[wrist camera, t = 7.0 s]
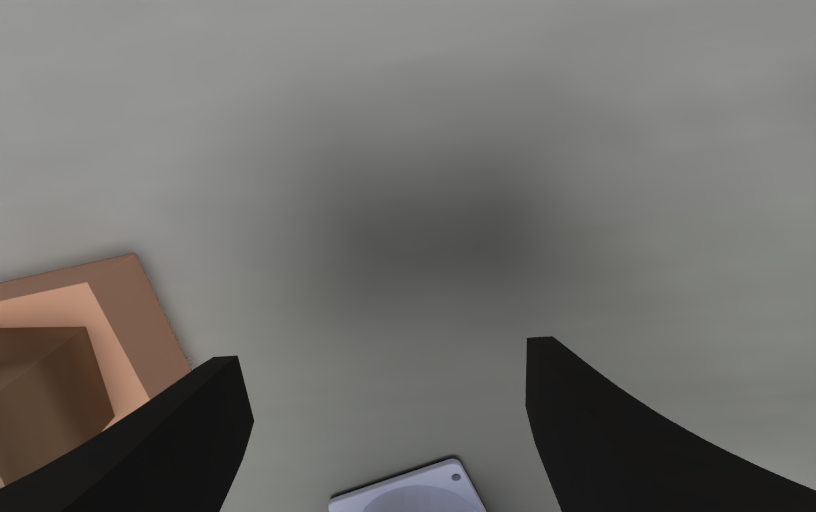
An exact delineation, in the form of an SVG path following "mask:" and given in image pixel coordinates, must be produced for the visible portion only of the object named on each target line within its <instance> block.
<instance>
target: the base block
mask: <svg viewBox="0 0 816 512" xmlns="http://www.w3.org/2000/svg"><path fill="white" fill-rule="evenodd" d="M25 327H86V328H87V331H88V334H89V338H90V341H91V344H92V347H93V350H94V353H95V356H96V359H97V362H98V365H99V368H100V372H101V375H102V378H103V381H104V384H105V387H106V390H107V393H108V396H109V399H110V402H111V405H112V409H113V412H114V415H115V417H114V418H113V420H112V421H111V422H110V423H109V424H108V425H107V426H106V427H105V429H107V428H109V427H110V426H112V425H113V424H115V423H116V422H118V421H119V420H121V419H122V418H124V417H125V416H127V415H128V414H130V413H132V412H133V411H135V410H136V409H138V408H139V407H141V406H142V405H144V404H145V403H146V402H148V401H149V400H151V399H152V398H154V397H155V396H156V395H158V394H159V393H161V392H162V391H164V390H165V389H166V388H168V387H169V386H171V385H172V384H174V383H175V382H176V381H178V380H179V379H181V378H182V377H184V376H185V375H187V374H188V373H189V372H191V371H192V370H191V368H190V366H189V364H188V362H187V360H186V358H185V356H184V354H183V352H182V350H181V348H180V346H179V343H178V341H177V339H176V337H175V335H174V333H173V331H172V329H171V327H170V325H169V323H168V321H167V319H166V316H165V314H164V312H163V310H162V308H161V306H160V304H159V302H158V300H157V298H156V296H155V294H154V292H153V289H152V287H151V285H150V283H149V281H148V279H147V277H146V275H145V273H144V271H143V269H142V267H141V265H140V262H139V260H138V258H137V256H136V254H135V253H133V254H128V255H124V256H119V257H115V258H110V259H106V260H101V261H97V262H93V263H88V264H84V265H79V266H75V267H70V268H66V269H61V270H57V271H52V272H48V273H43V274H39V275H34V276H30V277H25V278H21V279H16V280H12V281H7V282H3V283H0V328H25ZM105 429H104V430H105ZM104 430H103V431H104Z"/></svg>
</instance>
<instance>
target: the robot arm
mask: <svg viewBox="0 0 816 512" xmlns="http://www.w3.org/2000/svg"><path fill="white" fill-rule="evenodd" d="M525 406H526V410H527V414H528V418H529V422H530V426H531V430H532V433H533V437H534V441H535V444H536V447H537V450H538V452H539V455H540V457H541V460H542V462H543V465H544V468H545V470H546V473H547V475H548V478H549V480H550V483H551V485H552V488H553V490H554V493H555V495H556V498H557V500H558V503H559V505H560V508H561V510H562V512H816V490H813V489H811V488H808V487H806V486H803V485H801V484H798V483H796V482H793V481H791V480H789V479H786V478H784V477H782V476H780V475H777V474H775V473H773V472H770V471H768V470H766V469H764V468H761V467H759V466H757V465H755V464H753V463H751V462H749V461H747V460H745V459H743V458H740V457H738V456H736V455H734V454H732V453H730V452H728V451H726V450H724V449H722V448H720V447H718V446H716V445H714V444H712V443H710V442H708V441H706V440H704V439H702V438H700V437H699V436H697V435H695V434H693V433H692V432H690V431H688V430H686V429H685V428H683V427H681V426H679V425H677V424H676V423H674V422H672V421H670V420H669V419H667V418H665V417H664V416H662V415H660V414H659V413H657V412H655V411H654V410H652V409H651V408H649V407H648V406H646V405H645V404H643V403H642V402H640V401H639V400H637V399H636V398H634V397H633V396H631V395H629V394H628V393H627V392H625V391H624V390H622V389H621V388H619V387H618V386H617V385H615V384H614V383H612V382H611V381H610V380H608V379H607V378H606V377H604V376H603V375H602V374H600V373H599V372H598V371H596V370H595V369H594V368H592V367H591V366H590V365H588V364H587V363H586V362H585V361H583V360H582V359H581V358H579V357H578V356H577V355H576V354H574V353H573V352H572V351H571V350H569V349H568V348H567V347H566V346H564V345H563V344H562V343H561V342H559V341H558V340H557V339H555V338H554V337H552V336H550V337H534V338H527V363H526V405H525ZM253 423H254V419H253V415H252V411H251V407H250V403H249V399H248V395H247V391H246V387H245V383H244V379H243V375H242V371H241V367H240V363H239V359H238V356H223V357H213V358H211V359H210V360H208V361H206V362H205V363H203V364H201V365H200V366H198V367H197V368H195V369H194V370H192V371H191V372H189V373H188V374H187V375H185V376H184V377H182V378H181V379H179V380H178V381H176V382H175V383H174V384H172V385H171V386H169V387H168V388H166V389H165V390H164V391H162V392H161V393H159V394H158V395H156V396H155V397H154V398H152V399H151V400H149V401H148V402H146V403H145V404H144V405H142V406H141V407H139V408H138V409H136V410H135V411H133V412H132V413H130V414H128V415H127V416H125V417H124V418H122V419H121V420H119V421H118V422H116V423H115V424H113V425H112V426H110V427H109V428H107V429H105V430H104V431H102V432H101V433H99V434H98V435H96V436H95V437H93V438H91V439H90V440H88V441H87V442H85V443H83V444H82V445H80V446H78V447H76V448H75V449H73V450H71V451H70V452H68V453H66V454H64V455H63V456H61V457H59V458H57V459H56V460H54V461H52V462H50V463H48V464H47V465H45V466H43V467H41V468H39V469H38V470H36V471H34V472H32V473H30V474H28V475H26V476H24V477H22V478H20V479H18V480H16V481H14V482H12V483H10V484H8V485H6V486H4V487H2V488H0V512H219V511H220V509H221V507H222V505H223V502H224V500H225V498H226V496H227V494H228V492H229V489H230V487H231V485H232V483H233V480H234V478H235V476H236V474H237V471H238V469H239V467H240V464H241V462H242V460H243V457H244V454H245V450H246V447H247V444H248V441H249V437H250V434H251V430H252V427H253ZM453 474H458V475H453ZM328 510H329V512H487V511H486V509H485V507H484V506H483V504H482V502H481V500H480V498H479V496H478V494H477V492H476V491H475V489H474V487H473V485H472V483H471V481H470V479H469V478H468V476H467V474H466V472H465V470H464V468H463V466H462V465H461V463H460V462H459V461H458V460H456V459H448V460H445V461H442V462H439V463H436V464H433V465H430V466H427V467H424V468H421V469H418V470H415V471H412V472H409V473H406V474H403V475H400V476H397V477H394V478H391V479H388V480H385V481H382V482H379V483H376V484H373V485H370V486H367V487H364V488H361V489H358V490H355V491H352V492H349V493H347V494H344V495H341V496H338V497H335V498H332V499H331V500H330V501H329V505H328Z"/></svg>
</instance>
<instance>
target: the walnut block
mask: <svg viewBox="0 0 816 512" xmlns="http://www.w3.org/2000/svg"><path fill="white" fill-rule="evenodd" d="M114 417H115V415H114V412H113V409H112V405H111V402H110V399H109V396H108V393H107V390H106V387H105V384H104V381H103V378H102V375H101V372H100V368H99V365H98V362H97V359H96V356H95V353H94V350H93V347H92V344H91V341H90V338H89V334H88V331H87V328H86V327H25V328H0V488H2V487H4V486H6V485H8V484H10V483H12V482H14V481H16V480H18V479H20V478H22V477H24V476H26V475H28V474H30V473H32V472H34V471H36V470H38V469H39V468H41V467H43V466H45V465H47V464H48V463H50V462H52V461H54V460H56V459H57V458H59V457H61V456H63V455H64V454H66V453H68V452H70V451H71V450H73V449H75V448H76V447H78V446H80V445H82V444H83V443H85V442H87V441H88V440H90V439H91V438H93V437H95V436H96V435H98V434H99V433H101V432H102V431H103V430H104V429H105V427H106V426H107V425H108V424H109V423H110V422H111V421H112V420H113V418H114Z"/></svg>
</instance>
